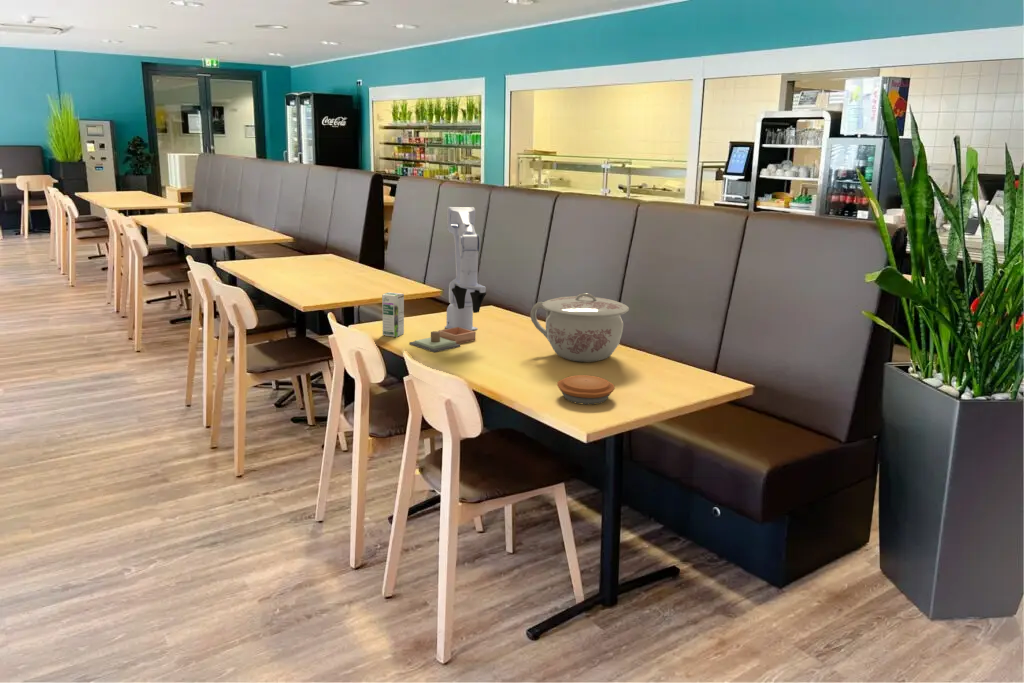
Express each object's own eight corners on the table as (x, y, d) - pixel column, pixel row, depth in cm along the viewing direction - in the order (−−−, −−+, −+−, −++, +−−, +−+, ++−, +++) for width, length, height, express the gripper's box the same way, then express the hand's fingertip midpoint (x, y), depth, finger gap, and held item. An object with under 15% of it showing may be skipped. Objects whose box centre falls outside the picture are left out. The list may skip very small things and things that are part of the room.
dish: (438, 339, 264) (438, 330, 264) (457, 335, 271) (458, 326, 270) (455, 344, 258) (455, 335, 258) (475, 340, 265) (475, 331, 264)
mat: (409, 344, 257) (409, 342, 257) (435, 338, 265) (435, 337, 265) (434, 352, 248) (434, 350, 248) (460, 346, 256) (460, 344, 256)
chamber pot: (643, 362, 244) (648, 297, 239) (573, 373, 230) (576, 305, 225) (589, 341, 267) (593, 282, 262) (522, 350, 253) (524, 288, 248)
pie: (593, 386, 219) (594, 369, 218) (625, 403, 206) (626, 385, 205) (545, 393, 212) (546, 375, 211) (576, 410, 199) (577, 392, 198)
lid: (414, 342, 257) (414, 331, 256) (437, 338, 263) (437, 327, 262) (433, 348, 250) (433, 337, 249) (455, 344, 257) (455, 332, 256)
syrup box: (382, 335, 267) (381, 294, 263) (389, 332, 272) (389, 291, 269) (397, 337, 265) (396, 295, 262) (404, 333, 271) (404, 292, 267)
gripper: (445, 268, 260) (445, 308, 264) (474, 274, 250) (474, 315, 254) (461, 266, 265) (461, 305, 269) (490, 272, 255) (489, 312, 259)
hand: (468, 310), depth 262 cm, fingers open, 7 cm apart
